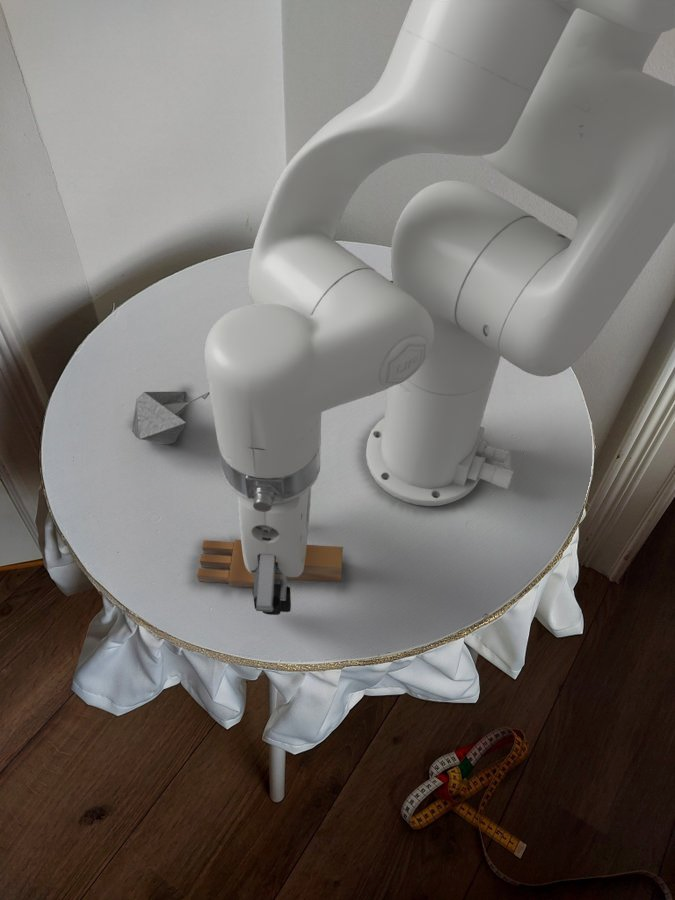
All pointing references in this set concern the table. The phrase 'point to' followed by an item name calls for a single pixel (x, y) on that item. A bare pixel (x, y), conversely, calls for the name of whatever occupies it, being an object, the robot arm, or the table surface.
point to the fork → (317, 567)
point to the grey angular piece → (160, 416)
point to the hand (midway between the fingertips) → (278, 562)
